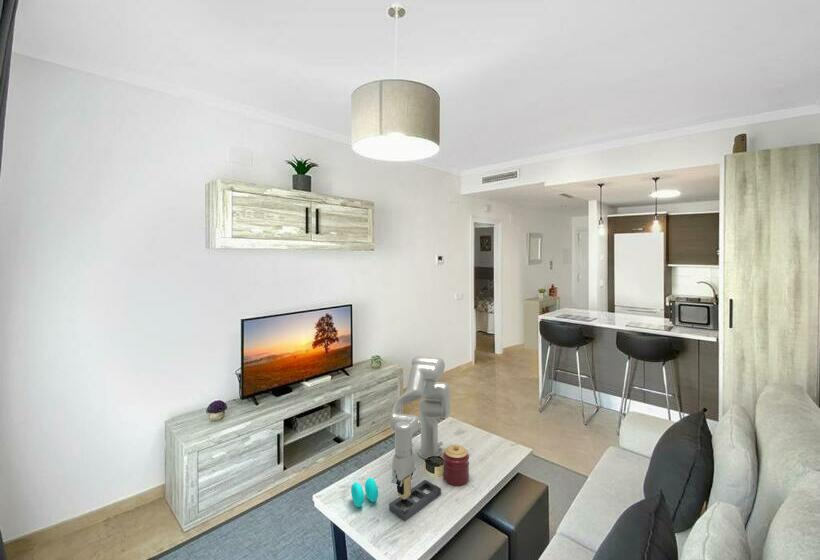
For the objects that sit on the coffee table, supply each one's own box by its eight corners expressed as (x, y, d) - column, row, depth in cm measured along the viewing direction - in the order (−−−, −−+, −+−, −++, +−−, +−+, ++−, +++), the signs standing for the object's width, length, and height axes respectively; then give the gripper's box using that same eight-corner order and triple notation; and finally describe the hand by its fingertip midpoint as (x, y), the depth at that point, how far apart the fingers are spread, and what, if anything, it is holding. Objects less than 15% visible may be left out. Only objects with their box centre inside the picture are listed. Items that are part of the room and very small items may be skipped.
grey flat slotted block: (425, 485, 181) (425, 479, 181) (441, 494, 174) (440, 488, 174) (389, 510, 163) (389, 503, 163) (405, 521, 157) (405, 514, 156)
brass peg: (404, 491, 166) (403, 471, 165) (410, 495, 163) (410, 475, 162) (397, 495, 163) (397, 475, 162) (404, 499, 160) (403, 479, 159)
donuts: (379, 505, 167) (378, 484, 166) (358, 513, 162) (358, 491, 161) (370, 492, 176) (370, 472, 175) (350, 499, 171) (350, 479, 170)
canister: (461, 468, 194) (461, 436, 193) (473, 483, 182) (473, 448, 181) (439, 473, 190) (438, 440, 189) (449, 489, 178) (449, 453, 177)
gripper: (410, 440, 170) (411, 478, 171) (383, 455, 158) (384, 496, 159) (422, 446, 165) (423, 485, 166) (395, 461, 153) (396, 504, 154)
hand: (404, 490), depth 163 cm, fingers closed on brass peg, 4 cm apart
